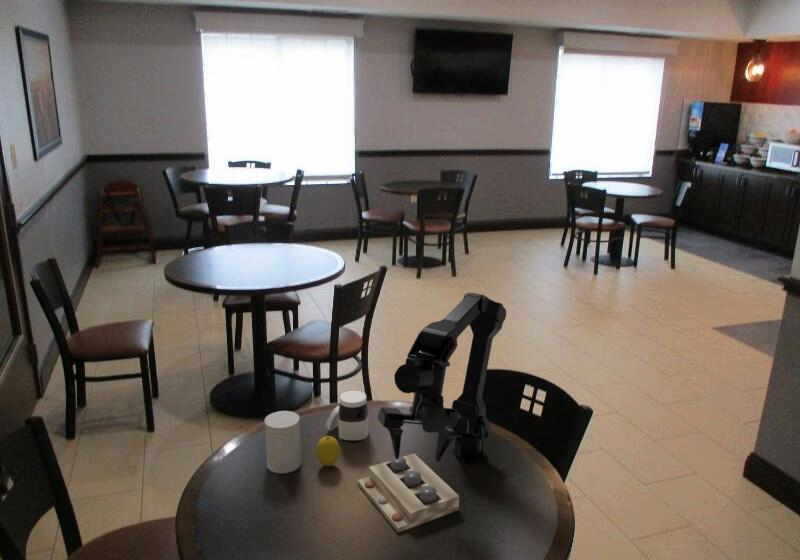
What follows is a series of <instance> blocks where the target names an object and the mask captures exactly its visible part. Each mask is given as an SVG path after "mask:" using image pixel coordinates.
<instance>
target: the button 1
mask: <svg viewBox="0 0 800 560" xmlns="http://www.w3.org/2000/svg"><path fill="white" fill-rule="evenodd" d="M390 460H391V471H392V472H393V473H399V472H402V471H405V470H406V459H405V458H404V456H400V455H399V458H398V459H396V458H395V456H393V457H391V458H390Z"/></svg>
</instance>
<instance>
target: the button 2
mask: <svg viewBox="0 0 800 560" xmlns="http://www.w3.org/2000/svg"><path fill="white" fill-rule="evenodd" d="M436 496H437V490H436V489H435V488H434V487H432V486H423V487H421V488H420V501H421V502H422V503H423V504H425V505H428V504H431V503H434V502H436Z"/></svg>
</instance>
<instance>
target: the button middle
mask: <svg viewBox="0 0 800 560" xmlns="http://www.w3.org/2000/svg"><path fill="white" fill-rule="evenodd" d="M404 484H405V485H406V486H407V487H408V488H414V487H417V486H420V485H421V474H420V473H419V472H418V471H414V470H411V471H407V472H406V473H405V480H404Z"/></svg>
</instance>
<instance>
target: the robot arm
mask: <svg viewBox="0 0 800 560" xmlns="http://www.w3.org/2000/svg"><path fill="white" fill-rule="evenodd" d="M506 318H507V309H506V308H505V307H504V304H503V303H501V302H497V301H495V300H493V299H491V298H489V297H488V296H486V295H485V294H480V293H475V292H466V293H465V294H464V295H463V298H462V300H461V301H460V302H458V304H456V305H455V307H454V308H453V309H451V310H450V312H449V313H448V314H447V315H446V316H444V318H442V319H441V320H438V321H434V322H430V323H429V324H428V325H426V326H424V327H423V328H422V329H421V330H420V332H419V333H418V334H417V337H416V338H415V340H414V342H413V344H412V346H411V347H410V350H409V351H408V353H407V358H406V359H405V363H404V364H401V365H400V366H399V367H398V368H397V369H396V372H395V373H394V375H393V376H394V384H395V386H396V387H397V389H398V390H399V391H400V392H402V393H404V394H411V393H413V394H414V395H413V400H412V406H410V408H409V412H410V413H403V412H402V411H401V410H400V409H399V408H396V407H384V406H382V407H381V408H380V409H379V410H378V414H377V420H378V422H379V423H380V424H381V426H383V428H385V429H387V431H388V432H389V435H390V438H391V444H392V449H393V454H394V457H395V458H396V459H398V458H399V456H400V453H401V441H402V435H403V433H404V430H403V428H402V427H403V426H404V424H413V425H421V426H422V429H423V431H424V432H425V433H429V434H431V433H438V436H437V437H438V439H437V444H436V445H437V446H436V453H435V461H436V462H441V459H442V458H443V456H444V454H445V452H446V450H447V449H448V447H449V445H450V444H451V442H452V441H453V440H454V447H453V448H451V449H452V450H451V451H452V452H453V453H454V454H455V455H456V456H458V458H460V459H461V460H462V461H463V462H465V463H466V464H467V463H472V462H474V461H477V460H480V459H483V458H486V457H488V454H487V452H486V451H484V447H485V446H484V444H485V443H484V442H485V439H488V438H489V437H490V432H491V430H492V423H491V422H490V421H489V419H487V417H486V414H487V406H486V403H485V401H484V399H483V398H484V397H483V393H484V387H485V381H486V377H487V372H488V371H487V370H488V365H489V361H490V356H491V351H492V346H493V344H492V343H493V339H494V338H495V337H496V336H497V334H498V333H499V332H501V330H502V329H503V324H504V322H505V321H506ZM468 327H470V329H471V333H472V340H471V345H470V351H469V356H468V361H467V366H466V371H465V378H464V381H463V382H464V383H463V388H462V392H461V394H460V395H459V397H457V398H456V399H454V400H453V401H452V403H451V408H446V407H444V396H443V388H444V383H445V376H446V371H447V367H450V365H451V363H450V361H449V360H450V359H451V357H452V355H453V354H454V352H455V351H456V350H457V347H458V338H459V337H460V335H461V334H462V333H463V332H464V331H466V328H468Z"/></svg>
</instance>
